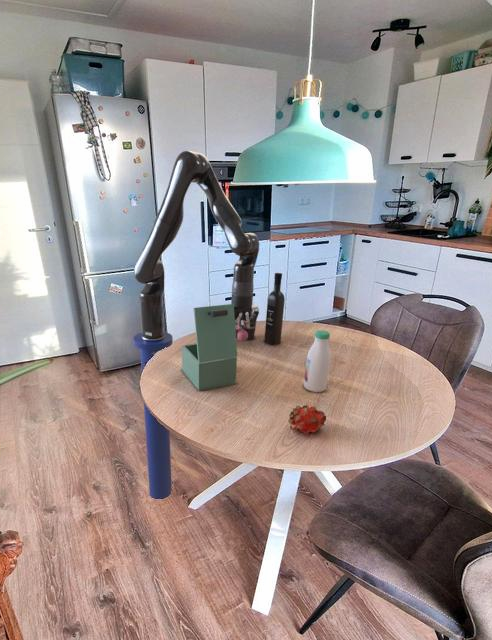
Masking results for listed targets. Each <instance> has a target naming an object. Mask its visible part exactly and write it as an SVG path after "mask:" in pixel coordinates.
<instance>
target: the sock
mask: <svg viewBox="0 0 492 640" xmlns="http://www.w3.org/2000/svg"><path fill="white" fill-rule="evenodd" d="M236 330H237V340H238V341H240V342H245V341H247V340H246V339H247V338H248V333H247V332H246V331H245V330H244V329H242V328H241V327H239V325H238V326H237V329H236Z"/></svg>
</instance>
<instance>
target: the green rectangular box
mask: <svg viewBox="0 0 492 640" xmlns="http://www.w3.org/2000/svg"><path fill="white" fill-rule="evenodd" d="M237 361H238V356H237V357H232V358H226V359H220V360H214V361H207V362H201V363H199V362H198V351H197V342H196V343H190V344H182V345H181V371H182V372H183V373H184V374H185V376H186V377H187V378H188V379H189V380H190V382H191V383H192V385H194V387H195V388H196V389H197V390H198V392H199V391H204V390H210V389H215V388H216V389H217V388H219V387H220V388H221V387H226V386H229V385H230V386H231V385H236V384H237V365H238V364H237V363H238V362H237Z"/></svg>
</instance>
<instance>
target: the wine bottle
mask: <svg viewBox="0 0 492 640" xmlns="http://www.w3.org/2000/svg"><path fill="white" fill-rule="evenodd" d="M273 279H274V283H273V290H272V291H271V292H269V294H268V296H267V302H266V315H265V328H264V339H263V340H264V341H263V342H264V343H266V344H269V345H271V346H274V345H277V344H280V343H281V341H282V333H283V332H282V331H283V322H284V321H283V319H284V312H285V311H284V310H285V303H286V302H285V301H286V300H285V299H286V298H285V295H284V293H283V292H282V291H281V287H282V280H283V273H281V272H275V273H274V278H273Z"/></svg>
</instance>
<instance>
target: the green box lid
mask: <svg viewBox="0 0 492 640" xmlns="http://www.w3.org/2000/svg"><path fill="white" fill-rule="evenodd" d="M193 318H194V329H195V338H196V343H197V351H198V362H199V363H201V362H207V361H214V360H220V359H226V358H232V357H237V358H238V346H237V339H236V330H235V316H234V304H231V303H229V304H228V303H227V304H219V305H208V306H198V307H193Z"/></svg>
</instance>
